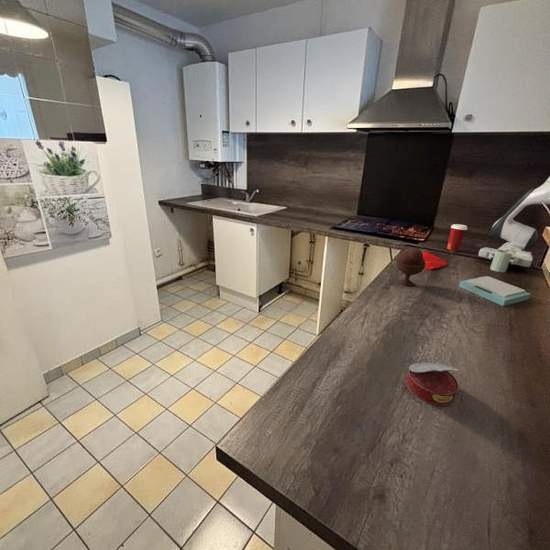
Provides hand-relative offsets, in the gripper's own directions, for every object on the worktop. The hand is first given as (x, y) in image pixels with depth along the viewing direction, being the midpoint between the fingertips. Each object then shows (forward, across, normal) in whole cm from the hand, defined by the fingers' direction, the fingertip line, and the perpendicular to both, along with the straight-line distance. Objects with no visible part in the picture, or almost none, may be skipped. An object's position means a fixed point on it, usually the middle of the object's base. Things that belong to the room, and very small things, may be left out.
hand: (501, 260), depth 133 cm
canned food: (+101, +6, +5) cm, 101 cm away
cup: (-1, 0, +5) cm, 5 cm away
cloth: (+13, -25, +5) cm, 28 cm away
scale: (+31, +4, +5) cm, 31 cm away
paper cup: (-16, -24, +5) cm, 30 cm away
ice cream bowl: (+48, -22, +5) cm, 54 cm away
